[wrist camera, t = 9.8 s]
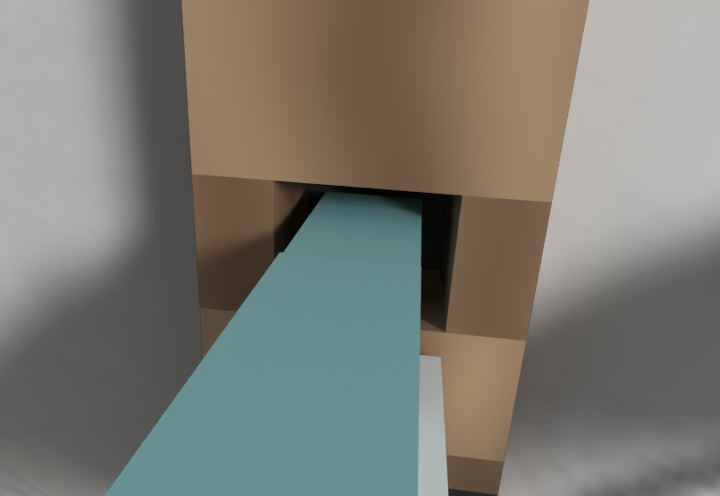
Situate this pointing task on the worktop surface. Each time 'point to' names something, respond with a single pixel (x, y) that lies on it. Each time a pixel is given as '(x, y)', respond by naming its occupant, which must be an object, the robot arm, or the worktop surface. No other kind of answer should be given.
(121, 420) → the worktop surface
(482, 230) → the wooden slotted block
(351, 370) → the clip
